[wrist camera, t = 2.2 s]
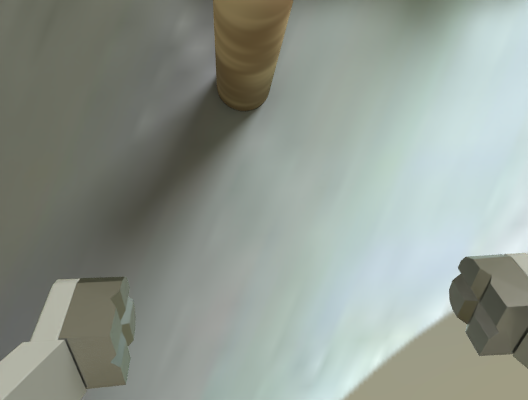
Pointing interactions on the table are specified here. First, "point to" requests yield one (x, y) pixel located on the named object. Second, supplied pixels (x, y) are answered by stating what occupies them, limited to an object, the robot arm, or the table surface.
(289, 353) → the table surface
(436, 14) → the table surface
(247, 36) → the stool leg
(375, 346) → the table surface
